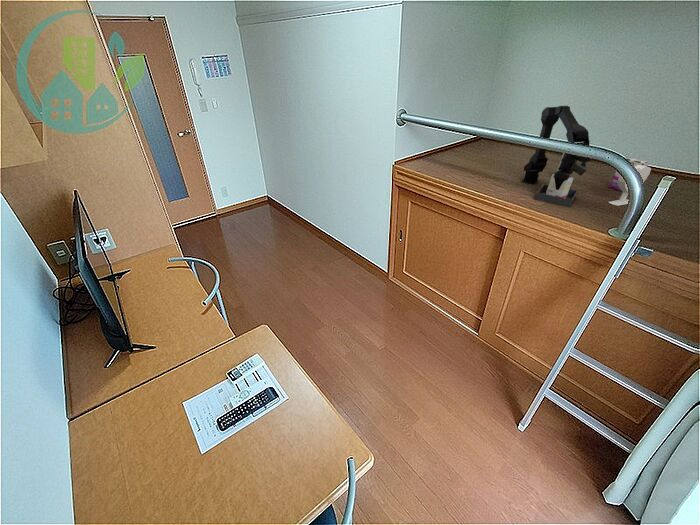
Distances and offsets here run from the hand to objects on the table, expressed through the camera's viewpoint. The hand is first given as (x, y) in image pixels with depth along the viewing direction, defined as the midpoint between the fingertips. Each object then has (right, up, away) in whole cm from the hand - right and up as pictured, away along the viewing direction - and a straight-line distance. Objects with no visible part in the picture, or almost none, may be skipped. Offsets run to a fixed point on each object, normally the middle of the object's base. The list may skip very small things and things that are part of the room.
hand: (558, 187), depth 164 cm
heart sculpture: (+30, -8, -2) cm, 31 cm away
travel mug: (+19, +12, +28) cm, 36 cm away
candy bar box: (+42, +2, +12) cm, 44 cm away
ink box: (0, -5, +3) cm, 6 cm away
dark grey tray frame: (0, -5, +3) cm, 6 cm away
